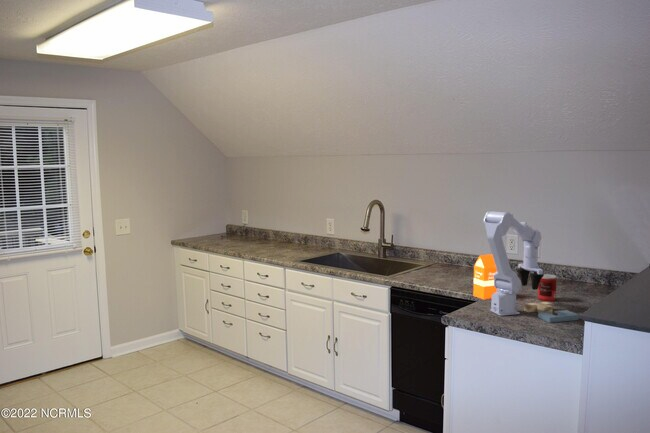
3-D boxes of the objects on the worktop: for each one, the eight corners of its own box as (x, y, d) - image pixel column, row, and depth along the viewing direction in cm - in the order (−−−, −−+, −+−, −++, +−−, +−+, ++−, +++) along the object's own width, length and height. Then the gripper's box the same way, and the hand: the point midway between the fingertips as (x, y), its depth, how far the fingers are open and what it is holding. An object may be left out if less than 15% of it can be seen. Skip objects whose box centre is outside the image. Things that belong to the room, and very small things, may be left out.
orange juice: (473, 295, 253) (474, 254, 251) (488, 293, 256) (489, 252, 254) (483, 299, 246) (484, 256, 244) (499, 297, 249) (500, 255, 247)
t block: (535, 315, 220) (535, 308, 220) (523, 310, 228) (524, 303, 227) (560, 313, 223) (560, 306, 223) (548, 308, 231) (548, 301, 230)
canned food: (550, 297, 250) (551, 273, 248) (559, 301, 242) (559, 277, 240) (534, 297, 249) (535, 274, 248) (542, 301, 241) (543, 277, 240)
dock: (549, 322, 210) (549, 317, 210) (538, 317, 217) (538, 312, 217) (578, 319, 214) (578, 314, 214) (566, 314, 221) (566, 310, 220)
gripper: (549, 259, 226) (548, 290, 227) (528, 253, 240) (527, 283, 241) (534, 260, 224) (533, 291, 225) (514, 254, 238) (513, 284, 239)
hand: (529, 287), depth 233 cm, fingers open, 7 cm apart
